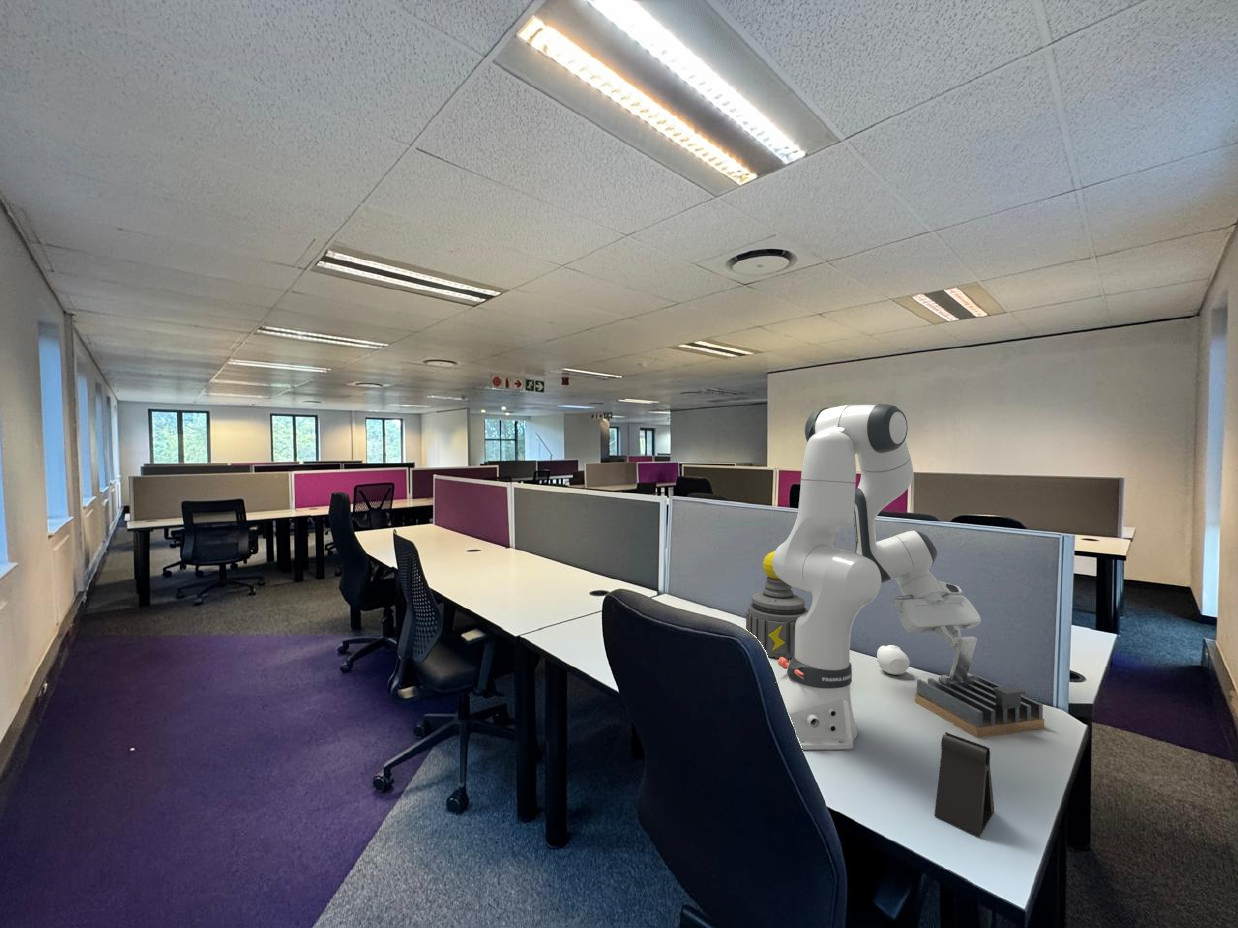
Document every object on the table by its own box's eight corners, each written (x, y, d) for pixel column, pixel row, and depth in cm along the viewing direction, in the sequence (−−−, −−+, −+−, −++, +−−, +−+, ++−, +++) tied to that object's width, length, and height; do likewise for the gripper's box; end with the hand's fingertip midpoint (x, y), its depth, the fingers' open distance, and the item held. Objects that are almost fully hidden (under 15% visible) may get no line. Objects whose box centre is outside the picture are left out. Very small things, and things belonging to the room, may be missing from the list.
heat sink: (980, 739, 103) (981, 696, 103) (914, 701, 119) (915, 664, 119) (1048, 730, 107) (1049, 688, 107) (976, 694, 123) (976, 658, 123)
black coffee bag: (952, 793, 86) (952, 723, 86) (994, 811, 82) (995, 738, 82) (934, 816, 80) (934, 742, 80) (978, 838, 76) (979, 759, 76)
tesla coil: (747, 634, 165) (748, 544, 165) (808, 641, 159) (809, 547, 159) (743, 655, 147) (744, 554, 147) (811, 664, 141) (813, 558, 141)
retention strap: (962, 639, 115) (958, 637, 116) (950, 682, 118) (946, 679, 119) (978, 638, 116) (974, 636, 117) (966, 680, 119) (962, 678, 120)
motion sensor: (915, 676, 134) (915, 648, 134) (896, 681, 130) (896, 652, 130) (888, 665, 141) (888, 638, 141) (869, 670, 138) (870, 642, 138)
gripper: (896, 589, 123) (929, 643, 114) (964, 585, 128) (1001, 637, 119) (883, 603, 128) (913, 655, 118) (949, 598, 132) (983, 648, 123)
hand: (958, 646), depth 118 cm, fingers closed
